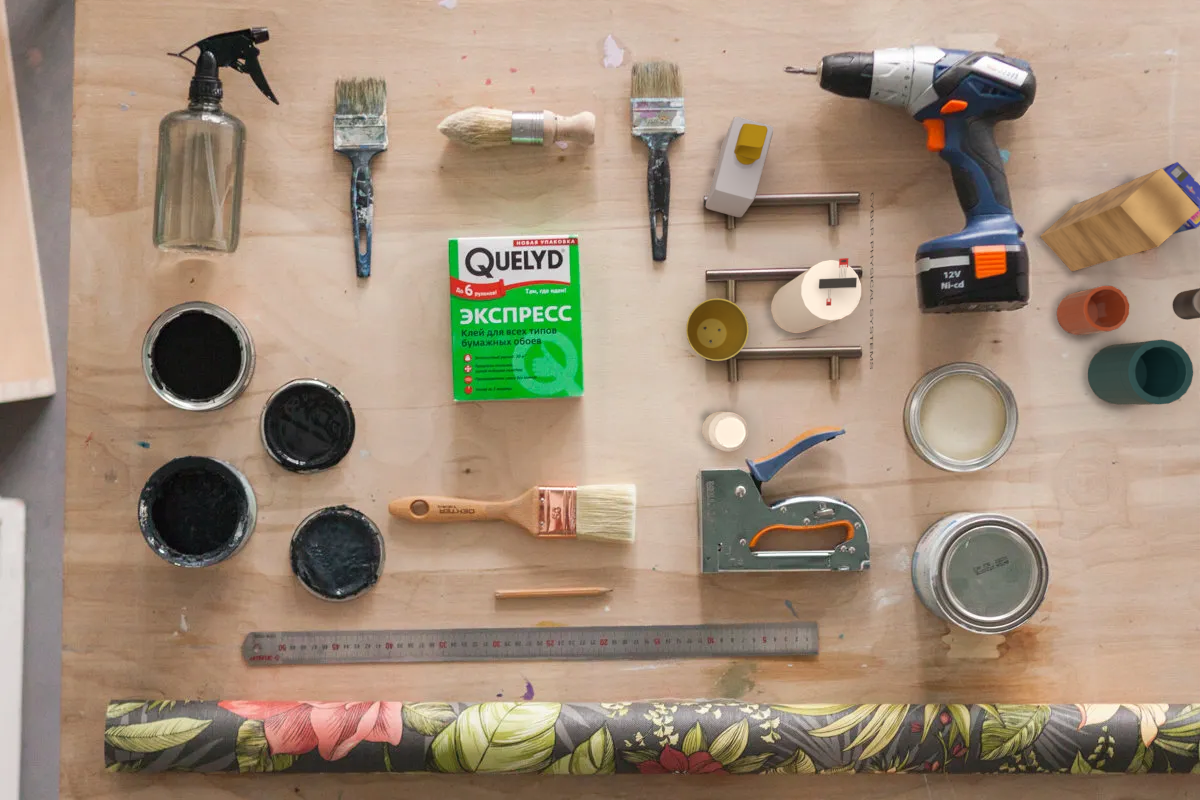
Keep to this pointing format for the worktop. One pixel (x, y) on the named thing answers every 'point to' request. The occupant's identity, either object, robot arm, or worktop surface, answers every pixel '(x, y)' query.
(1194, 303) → the brush
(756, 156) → the soap bottle
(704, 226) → the worktop surface
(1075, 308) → the brush pot
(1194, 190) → the ink cartridge box
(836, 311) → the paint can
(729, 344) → the flower pot
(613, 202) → the worktop surface
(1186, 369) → the jar
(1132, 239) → the riser
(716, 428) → the cream round cylinder
